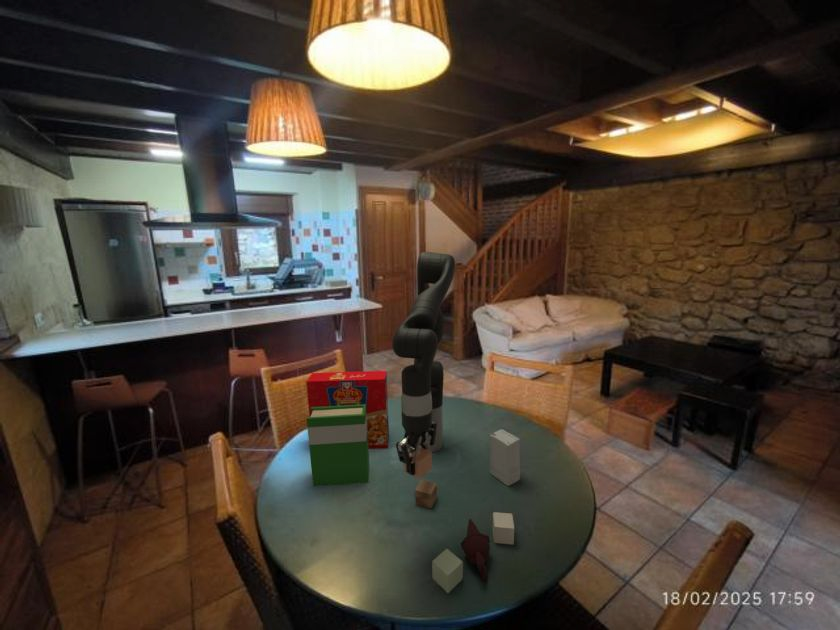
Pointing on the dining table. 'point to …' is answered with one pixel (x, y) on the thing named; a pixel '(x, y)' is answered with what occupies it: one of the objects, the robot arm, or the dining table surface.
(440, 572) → the sage cube
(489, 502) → the dining table surface
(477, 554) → the icecream
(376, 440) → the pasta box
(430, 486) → the walnut cube
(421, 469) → the terracotta cube
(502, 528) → the cream cube
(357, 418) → the hardback book
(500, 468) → the skincare box
